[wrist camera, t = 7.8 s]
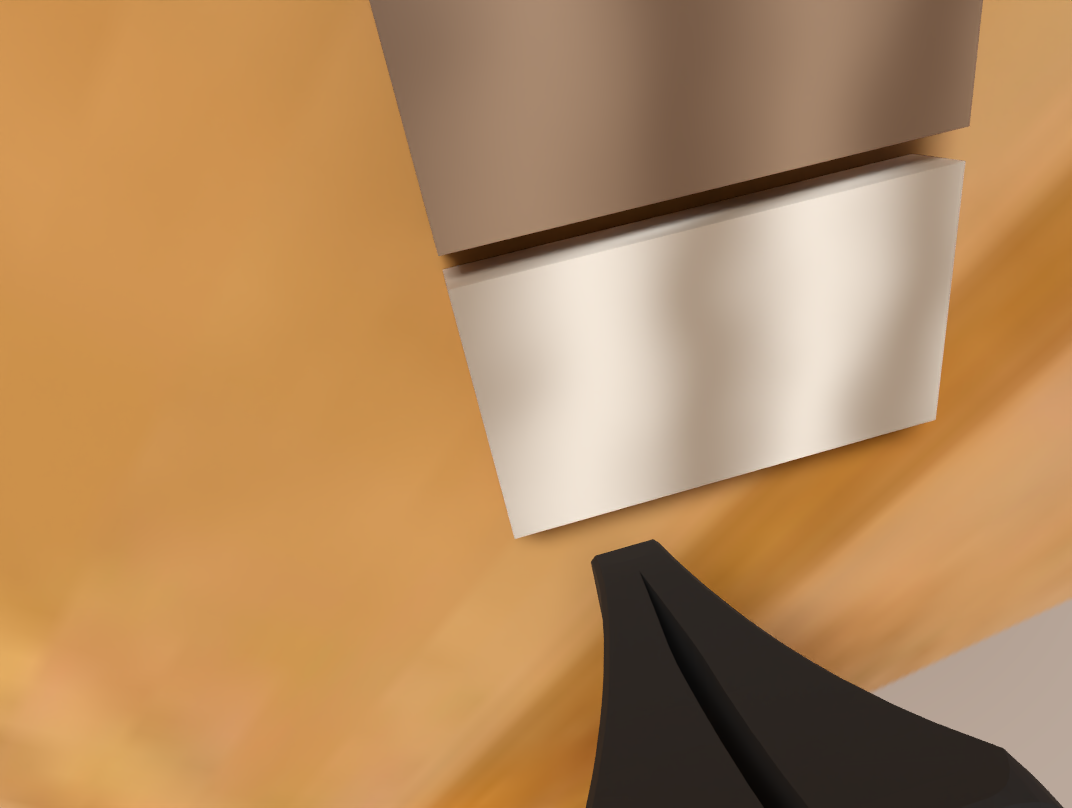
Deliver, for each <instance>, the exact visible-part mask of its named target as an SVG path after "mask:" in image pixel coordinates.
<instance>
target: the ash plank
mask: <svg viewBox="0 0 1072 808" xmlns="http://www.w3.org/2000/svg"><path fill="white" fill-rule="evenodd" d="M964 169H965V161H962V160H954V159H947V158H939V157H932V156H925V155H917V154H909V155H905V156H901V157H897V158H893V159H889V160H885V161H881V162H877V163H873V164H869V165H865V166H861V167H857V168H853V169H848V170H844V171H840V172H836V173H832V174H828V175H824V176H820V177H816V178H812V179H808V180H804V181H800V182H796V183H792V184H788V185H784V186H780V187H776V188H771V189H767V190H763V191H759V192H755V193H751V194H747V195H743V196H739V197H735V198H731V199H727V200H723V201H719V202H715V203H711V204H707V205H703V206H698V207H694V208H690V209H686V210H682V211H678V212H674V213H670V214H666V215H662V216H658V217H654V218H650V219H646V220H642V221H638V222H634V223H630V224H625V225H621V226H617V227H613V228H609V229H605V230H601V231H597V232H593V233H589V234H585V235H581V236H577V237H573V238H569V239H565V240H561V241H557V242H553V243H548V244H544V245H540V246H536V247H532V248H528V249H524V250H520V251H516V252H512V253H508V254H504V255H500V256H496V257H492V258H488V259H484V260H480V261H475V262H471V263H467V264H463V265H459V266H455V267H451V268H447V269H443V273H444V277H445V282H446V286H447V290H448V293H449V297H450V301H451V304H452V308H453V312H454V316H455V319H456V323H457V327H458V330H459V334H460V338H461V341H462V345H463V349H464V353H465V356H466V360H467V364H468V367H469V371H470V375H471V379H472V382H473V386H474V390H475V393H476V397H477V401H478V404H479V408H480V412H481V416H482V419H483V423H484V427H485V430H486V434H487V438H488V441H489V445H490V449H491V453H492V456H493V460H494V464H495V467H496V471H497V475H498V478H499V482H500V486H501V490H502V493H503V497H504V501H505V504H506V508H507V512H508V516H509V519H510V523H511V527H512V530H513V534H514V538H515V539H516V538H520V537H523V536H527V535H530V534H534V533H537V532H541V531H545V530H548V529H552V528H555V527H559V526H562V525H566V524H569V523H573V522H576V521H580V520H583V519H587V518H590V517H594V516H597V515H601V514H604V513H608V512H612V511H615V510H619V509H622V508H626V507H629V506H633V505H636V504H640V503H643V502H647V501H650V500H654V499H657V498H661V497H664V496H668V495H671V494H675V493H679V492H682V491H686V490H689V489H693V488H696V487H700V486H703V485H707V484H710V483H714V482H717V481H721V480H724V479H728V478H731V477H735V476H738V475H742V474H746V473H749V472H753V471H756V470H760V469H763V468H767V467H770V466H774V465H777V464H781V463H784V462H788V461H791V460H795V459H798V458H802V457H805V456H809V455H812V454H816V453H820V452H823V451H827V450H830V449H834V448H837V447H841V446H844V445H848V444H851V443H855V442H858V441H862V440H865V439H869V438H872V437H876V436H879V435H883V434H887V433H890V432H894V431H897V430H901V429H904V428H908V427H911V426H915V425H918V424H922V423H925V422H929V421H932V420H936V411H937V402H938V394H939V385H940V376H941V368H942V359H943V350H944V342H945V333H946V324H947V316H948V307H949V299H950V290H951V281H952V273H953V264H954V255H955V247H956V238H957V229H958V221H959V212H960V203H961V195H962V186H963V177H964Z"/></svg>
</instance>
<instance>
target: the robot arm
mask: <svg viewBox="0 0 1072 808" xmlns="http://www.w3.org/2000/svg"><path fill="white" fill-rule="evenodd" d="M591 564H592V569H593V574H594V579H595V584H596V589H597V594H598V599H599V603H600V608H601V613H602V618H603V630H604V677H603V695H602V707H601V718H600V727H599V735H598V742H597V750H596V757H595V763H594V769H593V775H592V780H591V785H590V790H589V795H588V800H587V805H586V808H1063V807H1062V806H1061V805H1060V803H1059V802H1058V801H1057V800H1056V799H1055V798H1054V797H1053V796H1052V795H1051V794H1050V792H1049V791H1047V789H1046V788H1045V787H1044V786H1043V785H1042V784H1041V783H1040V782H1039V781H1038V780H1037V779H1036V778H1035V777H1034V776H1033V775H1032V774H1031V773H1030V772H1029V771H1028V770H1027V769H1025V768H1024V767H1023V766H1022V765H1021V764H1020V763H1019V762H1017V761H1016V760H1015V759H1014V758H1013V757H1012V756H1011V755H1010V754H1009V753H1008V752H1007V751H1006V750H1005V749H1003V748H1001V747H998V746H996V745H993V744H990V743H988V742H985V741H982V740H980V739H977V738H974V737H972V736H969V735H966V734H963V733H961V732H958V731H956V730H953V729H950V728H948V727H945V726H942V725H939V724H937V723H935V722H932V721H930V720H927V719H925V718H922V717H921V716H918V715H916V714H914V713H911V712H909V711H907V710H905V709H902V708H900V707H898V706H895V705H893V704H891V703H889V702H887V701H885V700H883V699H881V698H879V697H877V696H875V695H873V694H871V693H869V692H867V691H865V690H863V689H861V688H859V687H857V686H855V685H853V684H851V683H849V682H847V681H845V680H843V679H842V678H840V677H838V676H836V675H834V674H833V673H831V672H829V671H827V670H826V669H824V668H822V667H820V666H819V665H817V664H815V663H813V662H812V661H810V660H808V659H807V658H805V657H803V656H802V655H800V654H799V653H797V652H795V651H794V650H792V649H790V648H789V647H787V646H786V645H784V644H783V643H781V642H780V641H778V640H777V639H775V638H774V637H772V636H771V635H769V634H768V633H766V632H765V631H764V630H762V629H761V628H759V627H758V626H757V625H755V624H754V623H752V622H751V621H750V620H748V619H747V618H745V617H744V616H743V615H741V614H740V613H739V612H737V611H736V610H735V609H734V608H732V607H731V606H730V605H728V604H727V603H726V602H725V601H723V600H722V599H721V598H720V597H719V596H717V595H716V594H715V593H714V592H712V591H711V590H710V589H709V588H707V587H706V586H705V585H704V584H703V583H701V582H700V581H699V580H698V579H697V578H696V577H695V576H693V575H692V574H691V573H690V572H689V571H688V570H687V569H686V568H684V567H683V566H682V565H681V564H680V563H679V562H678V561H677V560H676V559H675V558H674V557H673V556H672V555H671V554H670V553H669V552H668V551H667V550H666V549H665V548H664V547H663V546H662V545H661V544H660V543H659V542H657V541H655V540H649V541H646V542H642V543H639V544H635V545H632V546H628V547H625V548H621V549H618V550H614V551H611V552H607V553H604V554H600V555H597V556H595V557H594V558H593V560H592V561H591Z"/></svg>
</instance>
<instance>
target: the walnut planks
mask: <svg viewBox="0 0 1072 808" xmlns="http://www.w3.org/2000/svg"><path fill="white" fill-rule="evenodd" d="M369 1H370V4H371V8H372V12H373V16H374V19H375V23H376V27H377V30H378V34H379V38H380V42H381V45H382V49H383V53H384V56H385V60H386V64H387V67H388V71H389V75H390V79H391V82H392V86H393V90H394V93H395V97H396V101H397V104H398V108H399V112H400V116H401V119H402V123H403V127H404V130H405V134H406V138H407V142H408V145H409V149H410V153H411V156H412V160H413V164H414V167H415V171H416V175H417V179H418V182H419V186H420V190H421V193H422V197H423V201H424V204H425V208H426V212H427V216H428V219H429V223H430V227H431V230H432V234H433V238H434V242H435V245H436V249H437V253H438V256H441V255H445V254H449V253H453V252H457V251H462V250H466V249H470V248H474V247H478V246H482V245H486V244H490V243H494V242H498V241H502V240H506V239H511V238H515V237H519V236H523V235H527V234H531V233H535V232H539V231H543V230H547V229H551V228H555V227H560V226H564V225H568V224H572V223H576V222H580V221H584V220H588V219H592V218H596V217H600V216H604V215H609V214H613V213H617V212H621V211H625V210H629V209H633V208H637V207H641V206H645V205H649V204H654V203H658V202H662V201H666V200H670V199H674V198H678V197H682V196H686V195H690V194H694V193H698V192H703V191H707V190H711V189H715V188H719V187H723V186H727V185H731V184H735V183H739V182H743V181H747V180H752V179H756V178H760V177H764V176H768V175H772V174H776V173H780V172H784V171H788V170H792V169H796V168H801V167H805V166H809V165H813V164H817V163H821V162H825V161H829V160H833V159H837V158H841V157H846V156H850V155H854V154H858V153H862V152H866V151H870V150H874V149H878V148H882V147H886V146H890V145H895V144H899V143H903V142H907V141H911V140H915V139H919V138H923V137H927V136H931V135H935V134H939V133H944V132H948V131H952V130H956V129H960V128H964V127H968V126H969V125H970V116H971V106H972V97H973V88H974V78H975V69H976V59H977V50H978V41H979V31H980V22H981V12H982V3H983V0H369Z"/></svg>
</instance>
